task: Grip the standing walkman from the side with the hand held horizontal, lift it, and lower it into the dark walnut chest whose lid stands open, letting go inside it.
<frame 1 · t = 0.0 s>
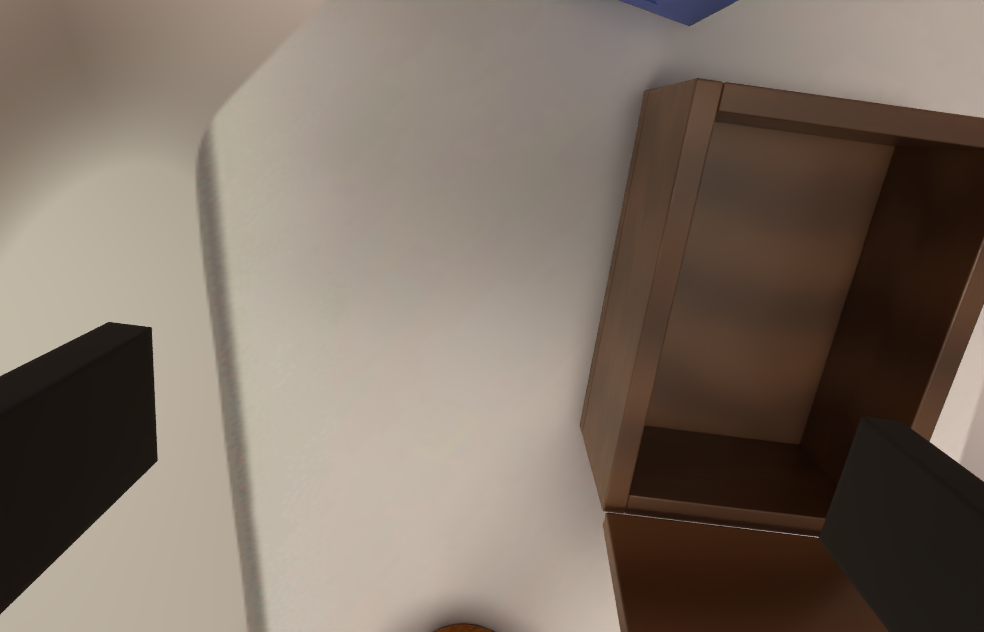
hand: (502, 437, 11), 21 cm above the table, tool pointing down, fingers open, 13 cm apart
chest: (731, 288, 32), on the table
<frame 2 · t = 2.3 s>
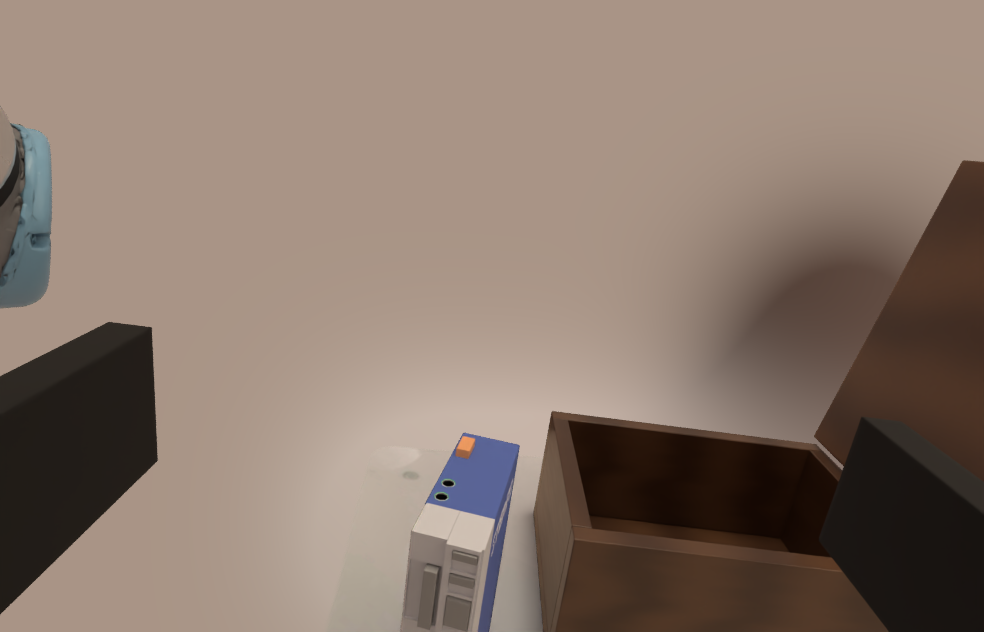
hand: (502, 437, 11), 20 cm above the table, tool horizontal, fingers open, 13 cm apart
chest: (686, 596, 36), on the table
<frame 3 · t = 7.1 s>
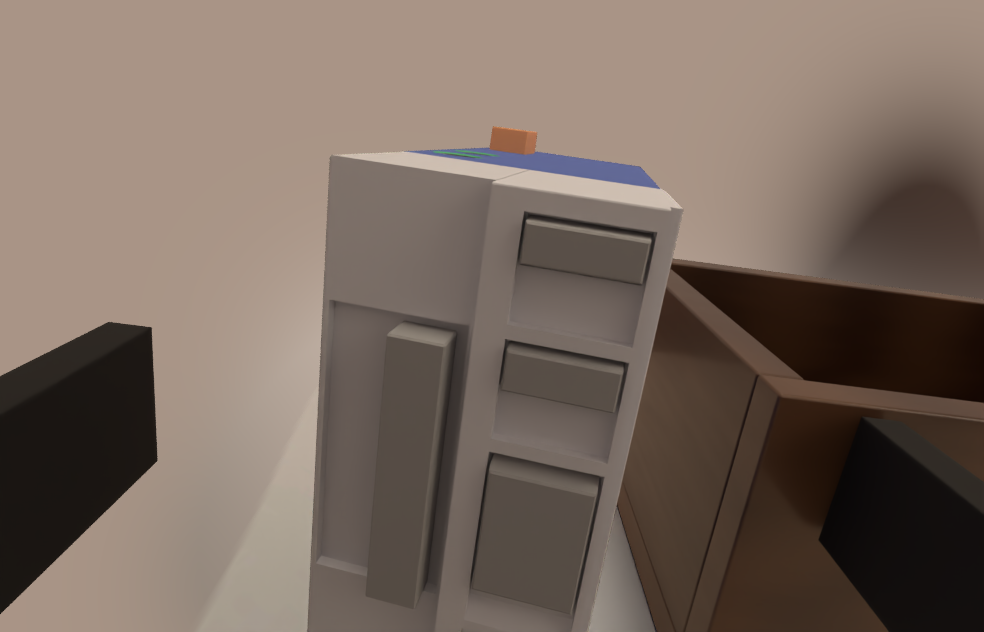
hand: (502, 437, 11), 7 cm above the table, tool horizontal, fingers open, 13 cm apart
chest: (891, 562, 20), on the table
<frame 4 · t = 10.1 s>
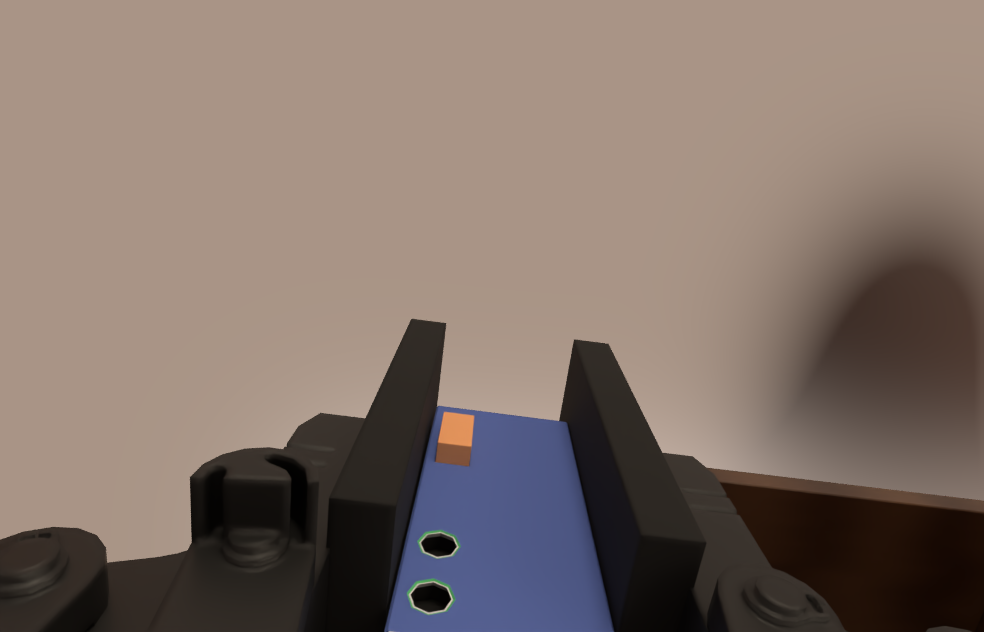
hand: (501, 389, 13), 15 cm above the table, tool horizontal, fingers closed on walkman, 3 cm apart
when the fingers open (13 cm above the table, at t = 15.6 s): walkman stays where it is, resting on chest.
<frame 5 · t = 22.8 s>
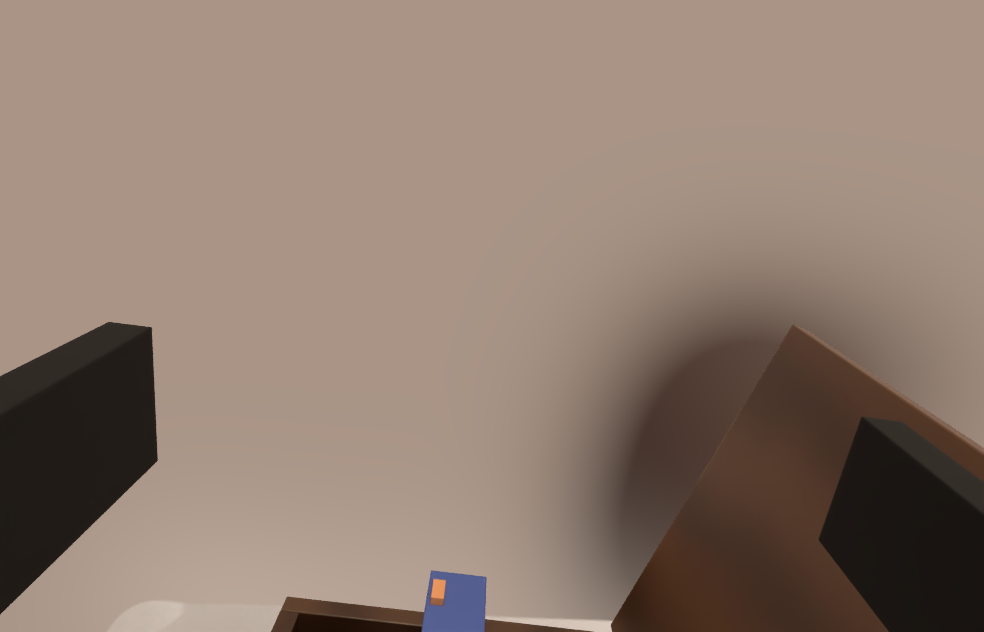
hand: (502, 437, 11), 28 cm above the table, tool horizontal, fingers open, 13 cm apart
chest lid: (793, 599, 24), point 17 cm above the table, hinge at 105.4°
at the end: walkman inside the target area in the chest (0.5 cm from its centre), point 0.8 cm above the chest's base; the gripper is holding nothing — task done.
